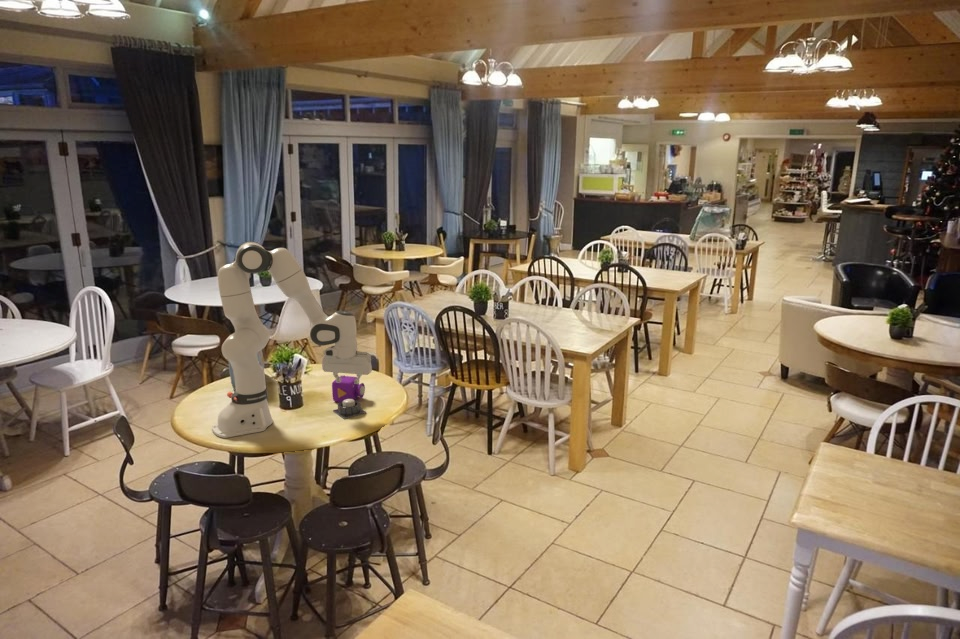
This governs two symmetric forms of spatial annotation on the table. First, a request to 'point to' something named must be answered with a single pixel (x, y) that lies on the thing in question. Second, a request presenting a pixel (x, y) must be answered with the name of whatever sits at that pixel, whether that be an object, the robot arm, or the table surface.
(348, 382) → the toy camera
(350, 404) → the cap
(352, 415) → the grey flanged ring
